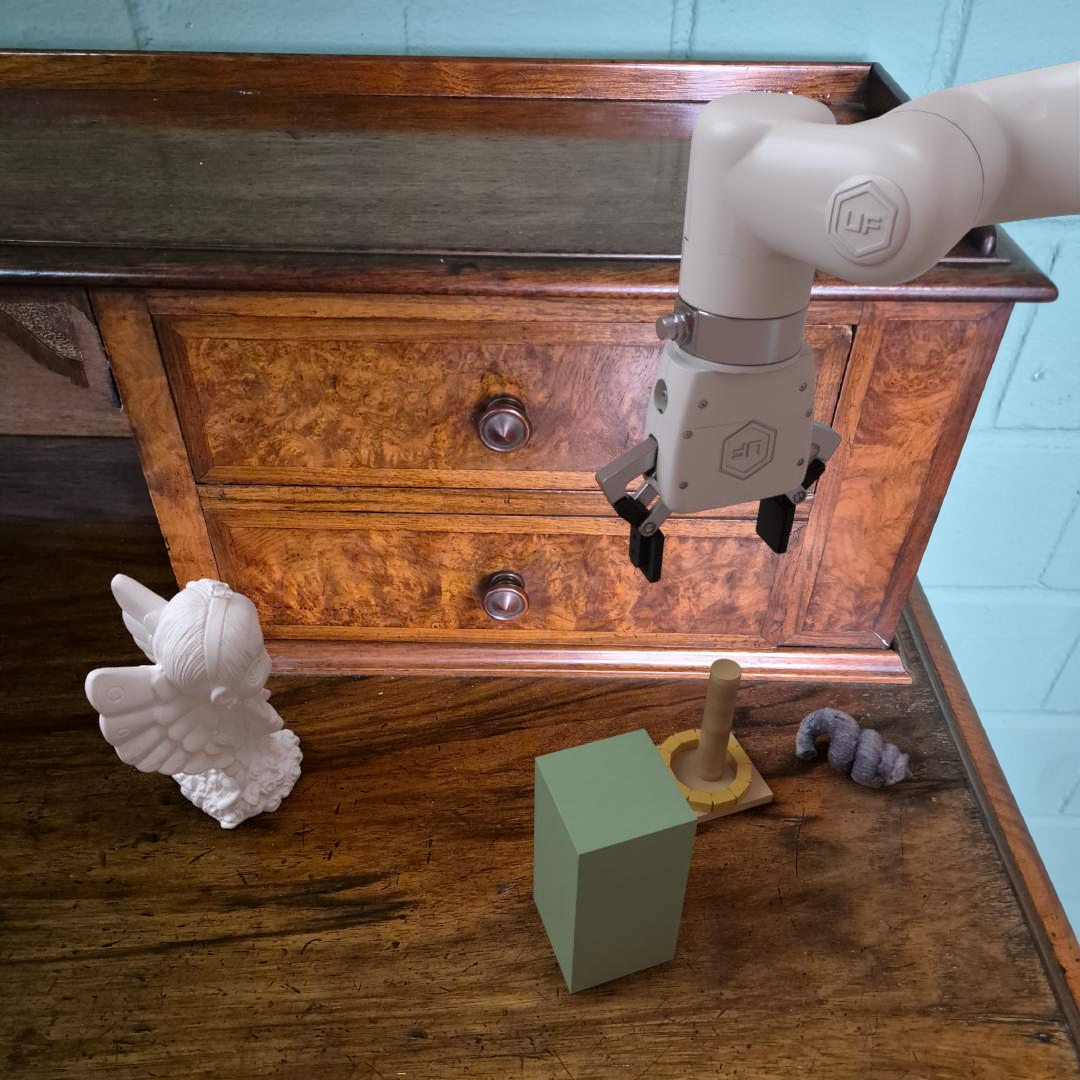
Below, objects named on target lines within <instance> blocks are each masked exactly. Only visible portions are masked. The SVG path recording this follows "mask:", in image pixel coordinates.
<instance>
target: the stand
mask: <svg viewBox="0 0 1080 1080" xmlns="http://www.w3.org/2000/svg"><path fill="white" fill-rule="evenodd" d="M655 746H656V744H654V742H653V740H652V738H651V737H650V734H649V733H648V731H647V730H646V728H639V729H637V730H633V731H629V732H625V733H622V734H617V735H615V736H610V737H607V738H603V739H599V740H595V741H592V742H587V743H583V744H580V745H577V746H573V747H569V748H565V749H562V750H557V751H555V752H550V753H546V754H543V755H539V756H536V757H535V758H534V810H533V811H534V813H533V814H534V816H533V817H534V819H533V820H534V821H533V822H534V823H533V826H534V827H533V892H532V893H533V894H532V895H533V897H532V898H533V901H534V903H535V906H536V909H537V911H538V914H539V916H540V919H541V921H542V925H543V926H544V929H545V931H546V934H547V937H548V939H549V942H550V944H551V947H552V951H553V953H554V955H555V957H556V960H557V963H558V965H559V968H560V971H561V974H562V976H563V978H564V981H565V983H566V986H567V988H568V991H569V994H570V995H572V994H576V993H579V992H581V991H584V990H587V989H589V988H593V987H595V986H599V985H601V984H605V983H608V982H611V981H613V980H616V979H619V978H621V977H622V978H623V977H625V976H628V975H631V974H634V973H637V972H639V971H640V972H641V971H643V970H645V969H649V968H651V967H654V966H657V965H660V964H663V963H667V962H669V961H672V960H674V959H675V953H676V947H677V942H678V936H679V930H680V924H681V918H682V913H683V907H684V902H685V896H686V890H687V884H688V878H689V873H690V868H691V867H690V866H691V861H692V855H693V849H694V843H695V838H696V832H697V827H698V824H697V821H698V818H697V817H696V815H695V813H694V812H693V810H692V808H691V807H690V805H689V803H688V801H687V800H686V798H685V796H684V795H683V793H682V791H681V790H680V788H679V786H678V784H677V783H676V781H675V779H674V778H673V776H672V774H671V772H670V771H669V769H668V767H667V766H666V764H665V762H664V761H663V759H662V757H661V755H660V754H659V752H658V750H657V749H656V747H655Z"/></svg>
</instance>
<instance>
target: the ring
mask: <svg viewBox="0 0 1080 1080" xmlns="http://www.w3.org/2000/svg"><path fill="white" fill-rule="evenodd" d="M700 732H701V728H696V729H695V730H694V729H693V728H691V729H687V730H684V731H680V732H676V733H673V735H672V734H671V735H670V736H669V737H668V738H667V739H666V740H664V741H663V742H662V744H660V745H661V746H660V747H659V749H658V752H659V754H660V755H661V757H662V759H663V761H664V762H665V764H666V766H667V767H668V769H669V771H670V772H671V774H672V776H673V778H674V779H675V781H676V783H677V784H678V786H679V788H680V790H681V791H682V793H683V795H684V796H685V798H686V800H687V801H688V803H689V805H690V807H691V808H692V810H693V811H699V812H705V813H711V810H712V812H713V813H717V812H721V811H724V810H728V809H731V808H734V805H735V806H737V805H738V804H739V803H740V802H741V800H742V799H743V798H744V797H745V796H746V795H747V794H748V792H749V790H750V785H751V775H752V765H751V762H752V761H751V759H750V758H749V756H748V754H747V753H746V752H745V750H744V749H743V747H742V746H741V745H740V746H739V747H738V744H737V743H736V742H734V741H732V740H731V739H729V743H728V748H727V753H726V759H727V760H728V761H729V763H730V764H731V766H732V767H733V769H734V771H735V772H736V779H735V780H734V781H733V783H732V784H731V785H730V786H729V787H728V788H726V789H723V790H719V791H715V792H712V793H709V792H703V791H697V790H692V789H690V788H689V787H687V786H686V785H684V784H683V783H681V782H679V781H678V780H677V779H676V777H675V775H674V773H673V772H672V770H671V768H670V762H671V761H672V760H673V759H674V758H675V757H676V756H677V755H678V754H679V753H680V752H682V751H685V750H689V749H693V748H698V744H699V738H700ZM745 753H746V754H745ZM747 756H748V757H747ZM749 759H750V760H749Z"/></svg>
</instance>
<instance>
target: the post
mask: <svg viewBox="0 0 1080 1080" xmlns="http://www.w3.org/2000/svg"><path fill="white" fill-rule="evenodd" d="M742 672H743V670H742V667H741V665H740V664H739V663H738V662H737V661H735V660H733V659H730V658H719V659H716V660H714V661H713V662H712V664H711V665H710V671H709V677H708V681H707V688H706V695H705V702H704V708H703V713H702V722H701V726H700V730H701V732H700V738H699V744H698V748H693V749H689V750H685V751H682V752H680V753H679V754H678V755H677V756H676V757H675V758H674V759H673V760H672V761H671V762H670V768H671V770H672V772H673V773H674V775H675V777H676V779H677V780H678V781H679V782H681V783H683V784H684V785H686V786H687V787H689V788H690V789H692V790H697V791H703V792H709V793H712V792H715V791H719V790H723V789H726V788H728V787H729V786H730V785H731V784H732V783H733V781H734V780H735V779H736V772H735V771H734V769H733V767H732V766H731V764H730V763H729V761H728V760H727V759H726V753H727V748H728V743H729V739H731V740H732V741H734V742H736V743H737V744H738V747H739V746H741V744H740V743H739V741H738V740H737V738H736V737H735V735H734V734H733V732H732V726H733V721H734V715H735V711H736V706H737V701H738V694H739V689H740V684H741V678H742V674H743V673H742ZM661 745H662V744H659V745H655V747H656V749H657V750H658V749H659V747H660V746H661ZM745 754H746V755H747V753H746V752H745ZM747 757H748V758H749V756H748V755H747ZM749 760H750V761H751V759H750V758H749ZM751 765H752V775H751V785H750V790H749V792H748V794H747V795H746V796H745V797H744V798H743V799H742V800H741V802H740V803H739V804H738V805H737V806H735V805H734V808H731V809H728V810H724V811H721V812H717V813H713V812H712V810H711V813H705V812H699V811H693V812H694V813H695V815H696V817H697V818H698V821H697V825H698V824H702V823H705V822H708V821H711V820H715V819H718V818H722V817H724V816H728V815H731V814H735V813H739V812H741V811H745V810H748V809H752V808H754V807H758V806H762V805H764V804H767V803H772V802H773V797H774V793H773V791H772V790H771V788H770V787H769V786H768V784H767V782H766V781H765V779H764V778H763V776H762V775H761V774H760V772H759V771H758V769H757V768H756V766H755V765H754V763H753V762H752V761H751Z"/></svg>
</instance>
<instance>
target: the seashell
mask: <svg viewBox="0 0 1080 1080" xmlns="http://www.w3.org/2000/svg"><path fill="white" fill-rule="evenodd" d="M828 734H829V737H830V741H829V743H828V744H829V747H828V750H827V759H828V761H829V763H830V765H831V767H832V768H834V769H835V770H836V771H838V772H840V773H842V774H844V773H850V774H851V775H850V777H851V779H852V780H853V781H854V782H855V783H858V784H860V785H862V786H865V787H869V788H873V789H879V788H881V786H885V787H889V786H892V785H895V784H897V783H899V782H901V781H903V780H904V779H909V778H910V779H912V778H913V777H914V774H913V773H912V771H910V769H909V762H910V755H909V753H902V752H901V751H900V747H899V746H898V744H894V743H889V742H884V739H883V736H882V735H881V734H880V733H879V732H877V731H876V730H875V729H873V728H869V729H868V728H862V729H861V727H860V724H859V723H858V721H856V719H855V718H854V717H853V716H851V715H850V714H848V713H846V712H845V711H842V710H838V709H836V708H835V707H833V708H831V707H828V706H825V707H824V708H820V709H816V710H814V711H811V712H810V713H809V714H808V715H806V716H804V718H803V719H802V721H801V722H800V726H799V728H798V731H797V733H796V738H795V756H797V757H799V758H800V759H803V760H806V761H811V760H812V758H814V757H817V756H818V754H819V753H818V751H817V749H816V747H815V746H816V741H817V739H818V738H819V737H821V736H825V735H828Z"/></svg>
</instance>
